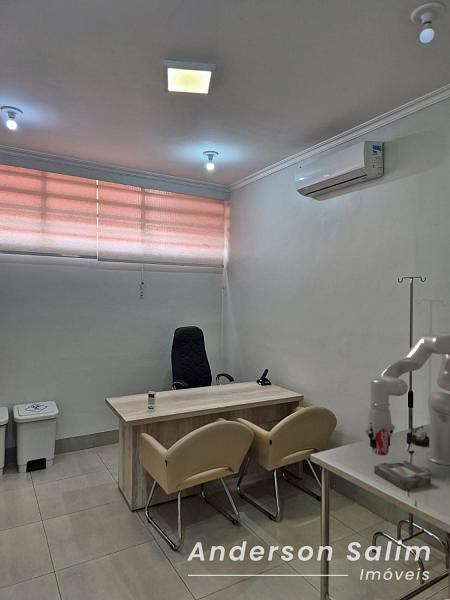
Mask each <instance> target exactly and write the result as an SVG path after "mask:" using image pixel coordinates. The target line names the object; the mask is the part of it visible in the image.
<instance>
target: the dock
mask: <svg viewBox="0 0 450 600" xmlns="http://www.w3.org/2000/svg"><path fill="white" fill-rule="evenodd" d="M373 469H374V472H373V473H374V475H376V476H378V477H379V478H382V479H383V480H385V481H386V482H388V483H391V484H392V485H394V486H395V487H396V488H398V489H400V490H402V491H407V490H408V491H409V490H414V489H419V488H425V487H430V486H431V485H432V473H431V472H429V471H427V470H425V469H424V468H422V467H420V466H418V465H415V464H414V463H412V462H410V461H407V460H403V463H402V462H395V463H388V464H383V463H380V464H379V465H374V468H373Z"/></svg>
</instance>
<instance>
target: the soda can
mask: <svg viewBox="0 0 450 600" xmlns="http://www.w3.org/2000/svg"><path fill="white" fill-rule="evenodd" d="M373 434H374V433H373ZM375 439H376V448H375V449H374V448H372V447H371V450H372V453H374V455H376V456H381V457H382V456H383V457H385V456H387V455H388V454H389V451H390V446H389V435H388V430H387V428H385V429H381V430H380V431H379V432H378V433H377V434H376V437H375Z"/></svg>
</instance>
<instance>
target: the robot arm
mask: <svg viewBox="0 0 450 600" xmlns="http://www.w3.org/2000/svg"><path fill="white" fill-rule="evenodd" d="M435 354H436V355H441V362H440V363H441V364H440V368H439V371H438V374H437V379H436V383H437V386H438V387H439V388H441V389H443V390H445V391H448V392H450V331H440V332H437V333H436V334H429V333H425V334H422V335H420V336H419V338H417V340H416V341H415V342H414V344H413V345H412V346H411V347H410V349H409V350H408V351H407V352H406V354H405V355H404V356H403V357H401V358H400V359H398V360H396V361H394V362H393V363H391V364H389V366H387V367H386V368H385V369H384V371H383V372H382V373H381V375H380V376H379V377H378V378H372V379H371V380H370V408H369V409H368V410H369V411H368V414H367V427H366V428H365V429H364V433H365V434H366V435H367V437H368V438H369V444H370V445H369V447H371V449H372V448H374V449H375V448H376V439H375V437H376V434H377V433H378V432H379V431H380V430H381V429H385V428H387V430H388V435H389V447H391V438H392V434H393V432H394V430H395V429H396V426H395V425H394V424H392V416H391V410H390V408H389V407H390V406H391V404H390V402H389V399H390V397H389V396H394V397H395V396H396V397H400V396H404V395H406V394H407V393H408V390H409V387H408V384H407V382H406V381H405V380H404V379H400V378H399V377H400V376H402V375H404V374H407V373H410V372H415V371H417V370H421V369H422V368H423V366H424V365H425V364H426V362H428V359H429V358H430V357H431V356H432V355H435ZM427 399H428V400H427V405H428V406H427V407H428V411H429V445H428V447H429V448H428V452H427V453H425V455H424V456H425V459H426V460H427V461H428V462H432V463H433V464H438V465H443V466H450V393H447V392H444V391H434V392H432V393H430V394H429V395H428V398H427ZM373 433H374V434H373Z"/></svg>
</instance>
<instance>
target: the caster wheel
mask: <svg viewBox="0 0 450 600" xmlns="http://www.w3.org/2000/svg"><path fill="white" fill-rule="evenodd" d="M412 431H413V433H412V436H411V442H412V444H413V445H415V446H417V447H427V446H429V439H430V436H428V435H427V434H428V430H426V429H424V426H423V425H421V426H419V427H416V428H413V430H412Z"/></svg>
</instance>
